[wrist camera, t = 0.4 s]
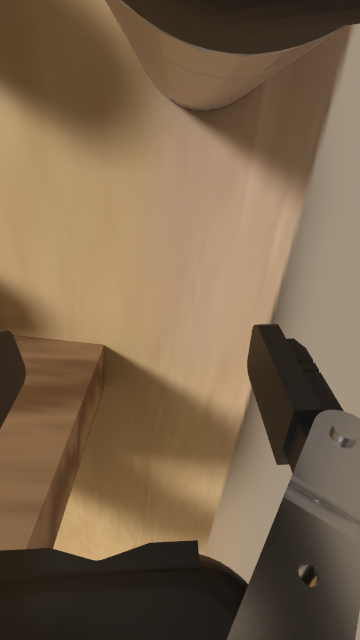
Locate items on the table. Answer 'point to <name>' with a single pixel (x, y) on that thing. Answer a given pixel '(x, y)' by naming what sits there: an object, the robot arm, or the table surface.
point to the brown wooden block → (46, 438)
